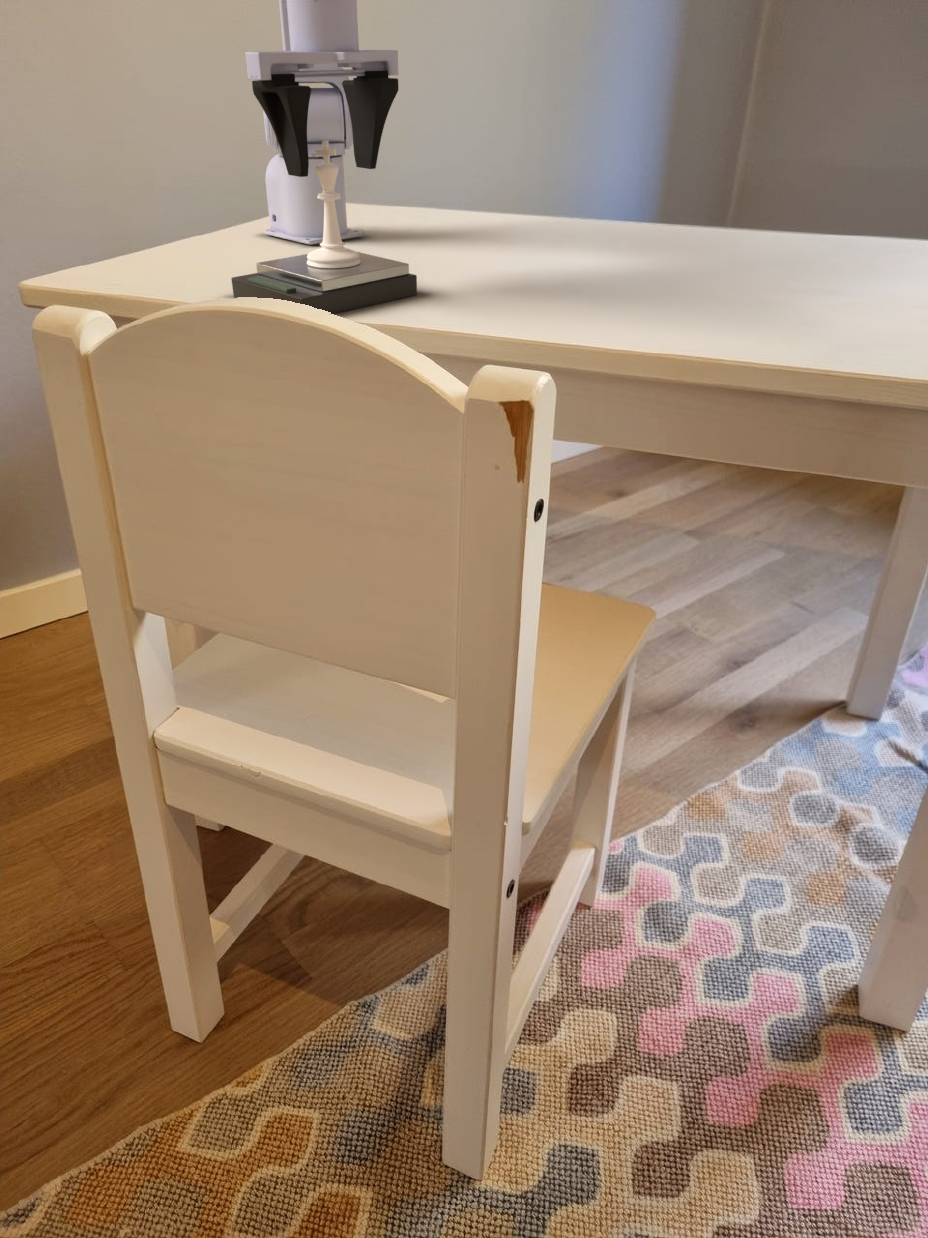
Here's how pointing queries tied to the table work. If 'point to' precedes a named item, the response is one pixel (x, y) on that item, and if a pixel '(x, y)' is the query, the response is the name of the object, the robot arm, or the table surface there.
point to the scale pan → (332, 272)
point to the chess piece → (330, 220)
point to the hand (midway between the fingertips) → (333, 171)
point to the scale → (326, 300)
